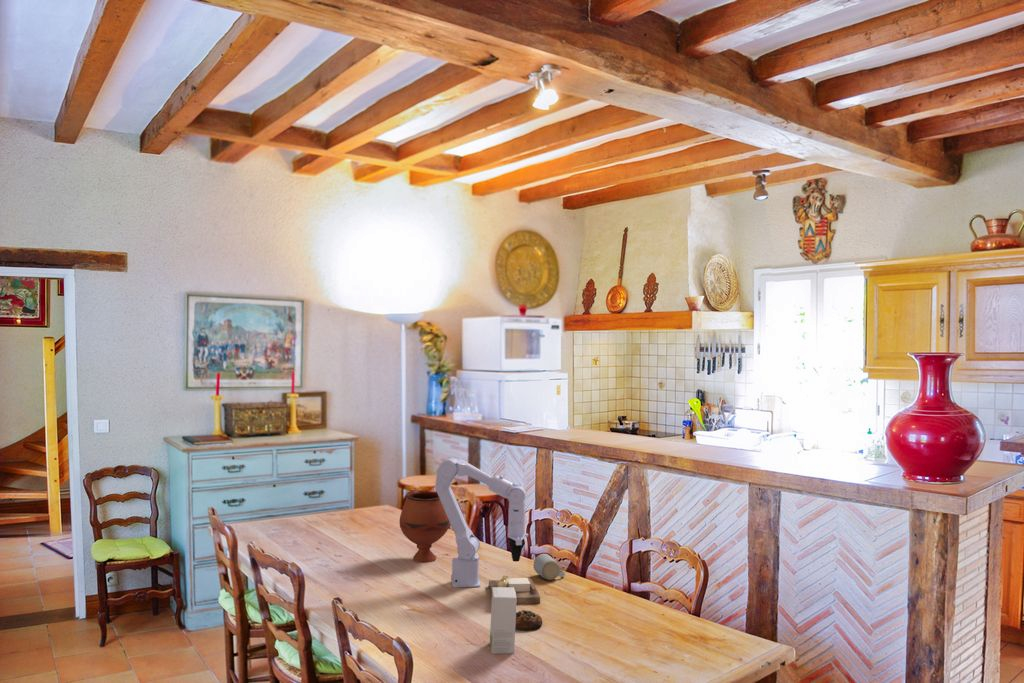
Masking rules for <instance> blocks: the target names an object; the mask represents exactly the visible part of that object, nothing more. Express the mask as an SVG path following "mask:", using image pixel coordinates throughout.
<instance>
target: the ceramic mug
mask: <svg viewBox="0 0 1024 683" xmlns="http://www.w3.org/2000/svg"><path fill="white" fill-rule="evenodd" d="M533 570H534V571H535V573H536V574H537V575H539V576H540V577H542V578H543V579H544V580H547V581H552V580H555V579H556V578H557V577H560V578H564V577H565V575H566V572H565V571H563V570H561V569H560V565H559V563H558V562H557V561H556V560H555V559H554V558H553V557H552V556H550V554H548V553H541V554H538V555H537V556H536V558H535V559H534V560H533Z"/></svg>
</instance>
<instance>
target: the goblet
mask: <svg viewBox="0 0 1024 683" xmlns="http://www.w3.org/2000/svg"><path fill="white" fill-rule="evenodd" d="M450 525H451V523H450V521H449V519H448V517H447V514H446V512H445V510H444V507H443V505H442V503H441V500H440V498H439V496H438V493H437V491H416V492H410V493H407V494H406V499H405V500H404V504H403V506H402V509H401V512H400V516H399V527H400V530H401V532H402V534H403V535H404V537H406V538H407V540H409V541H410V542H412V543H413V544H415V545H416V549H417V552H416V553H414V555H413V557H412V561H413V562H416V563H421V564H422V563H424V564H425V563H431V562H433V561H436V560H437V558H436V557H437V556H436V555H435V554H434V552H432V550H431V548H432V546H433V544H435V543H436V542H438V541H439V540H440V539H441V538H443V537H444V535H445V534H446V533H447V532H448V530H449V528H450Z"/></svg>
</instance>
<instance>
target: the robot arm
mask: <svg viewBox="0 0 1024 683" xmlns="http://www.w3.org/2000/svg"><path fill="white" fill-rule="evenodd" d="M456 476H457V478H458V477H465V476H467V477H470V478H472V479H474V480H476V481H478V482H480V483H483V484H485V485H487V487H488V490H489V491H490V492H493V493H494V494H496V495H498V496H501V497H503V498H504V499H507V501H508V502H509V504H508V521H507V523H508V524H507V525H508V526H507V527H508V528H507V537H508V538H507V542H508V544H509V547H510V552H511V559H512V562H519V561H520V559H521V555H522V550H523V548H524V545H525V544H526V541H525V538H527V537H529V533H526V532H525V531H526V498H527V491H526V488H525V487H524V486H522V485H521V484H517V483H516V482H511V481H509V480H508V479H505V478H504V475H502V474H500V475H498V474H496V475H494V476H491V475H490V474H488V473H487V472H484V471H483V470H482V469H480V468H478V467H476V466H474V465H472V464H471V463H469V462H467V461H465V460H464V459H459V457H456V456H448V457H447V458H446V459H445V460H443V461H442V462H441V463H440V464H439V466H438V468H437V469H436V478H435V486H434V488H435V492H437V493H438V496H439V498H440V500H441V503H442V505H443V507H444V510H445V512H446V514H447V517H448V519H449V521H450V526H451V528H452V530H453V532H454V535H455V543H456V546H457V554H458V557H454V558H452V562H451V574H450V580H451V585H452V586H451V587H453V588H469V587H470V588H476V587H477V588H480V587H481V583H480V578H479V574H480V573H479V571H480V570H479V568H480V555H479V554H478V551H479V549H480V547H481V546H480V544H481V543H480V539H478V538H477V537H476V536H475V535H474V533H473V531H472V530H471V529H470V528H469V526H468V524H467V522H466V519H465V516H464V515H463V511H462V510H461V507H460V505H459V502H458V500H457V499H456V496H455V494H454V491H453V490H452V484H453V482H454V480H455V477H456Z"/></svg>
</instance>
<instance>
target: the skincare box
mask: <svg viewBox="0 0 1024 683" xmlns="http://www.w3.org/2000/svg"><path fill="white" fill-rule="evenodd" d="M516 603H517V598H516V592H515V590H514V587H492V596H491V610H490V628H489V630H490V631H489V632H490V633H489V634H490V635H489V646H490V649H491V650H490V651H491V652H490V653H491V654H494V655H495V654H496V655H497V654H498V655H501V654H515V645H516V644H515V642H516V629H515V624H516V612H517V604H516Z"/></svg>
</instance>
